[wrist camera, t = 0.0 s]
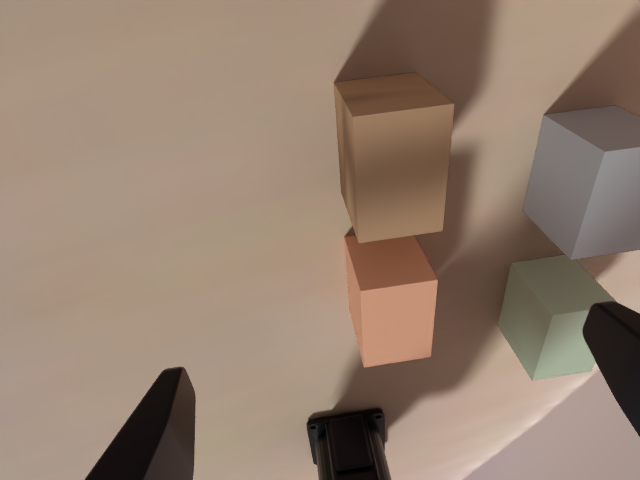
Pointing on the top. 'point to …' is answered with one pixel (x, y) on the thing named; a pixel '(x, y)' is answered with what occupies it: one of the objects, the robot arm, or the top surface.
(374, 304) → the terracotta brick
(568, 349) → the sage brick
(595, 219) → the grey brick
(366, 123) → the walnut brick
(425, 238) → the top surface
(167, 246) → the top surface
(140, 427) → the robot arm
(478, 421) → the top surface
